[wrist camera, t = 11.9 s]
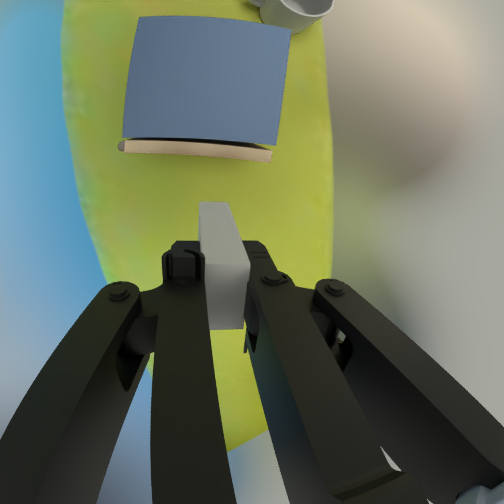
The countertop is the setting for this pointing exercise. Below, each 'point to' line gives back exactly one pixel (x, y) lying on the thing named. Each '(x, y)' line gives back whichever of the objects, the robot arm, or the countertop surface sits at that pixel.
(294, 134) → the countertop surface
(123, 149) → the door
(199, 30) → the cabinet
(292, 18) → the cup
